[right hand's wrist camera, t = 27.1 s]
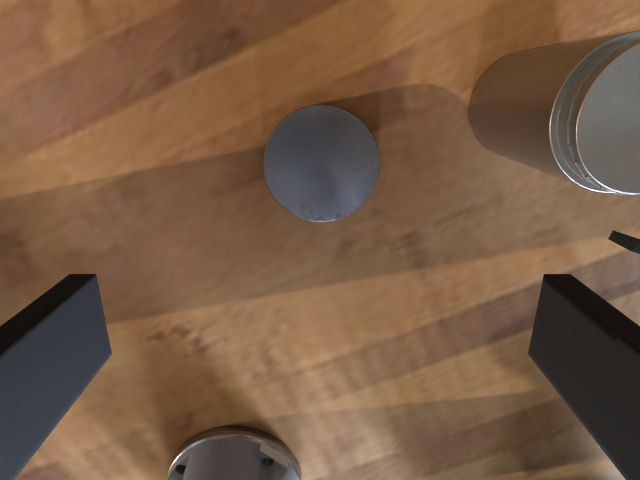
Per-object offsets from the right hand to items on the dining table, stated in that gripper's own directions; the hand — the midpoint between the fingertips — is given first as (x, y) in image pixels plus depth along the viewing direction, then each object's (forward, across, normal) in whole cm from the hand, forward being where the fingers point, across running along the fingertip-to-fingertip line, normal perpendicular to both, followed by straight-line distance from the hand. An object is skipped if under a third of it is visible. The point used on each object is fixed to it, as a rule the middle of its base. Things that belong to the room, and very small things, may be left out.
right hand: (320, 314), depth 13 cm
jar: (+26, +17, +5) cm, 31 cm away
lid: (+24, 0, 0) cm, 24 cm away
